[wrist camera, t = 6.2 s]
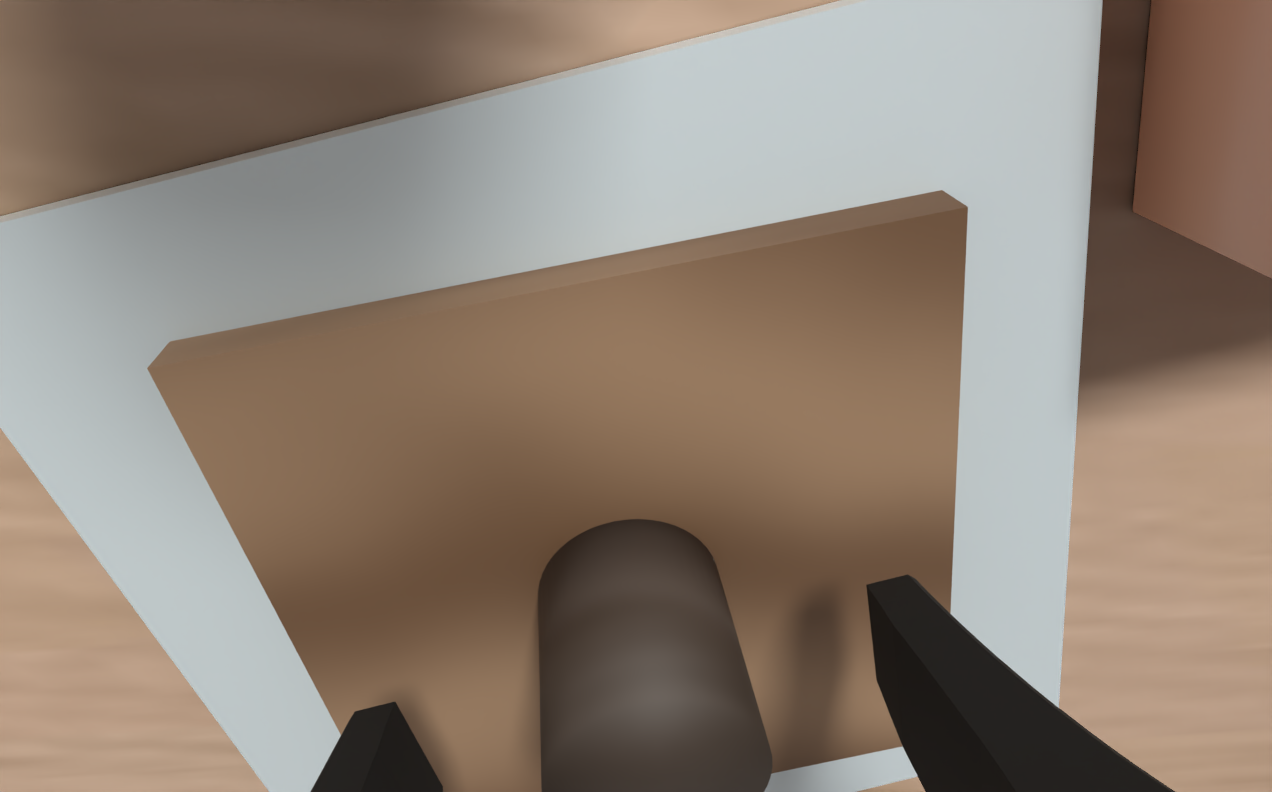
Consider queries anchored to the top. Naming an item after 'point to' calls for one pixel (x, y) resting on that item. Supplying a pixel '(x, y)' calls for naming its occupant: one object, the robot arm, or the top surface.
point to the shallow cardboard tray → (1209, 126)
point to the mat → (565, 233)
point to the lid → (605, 496)
